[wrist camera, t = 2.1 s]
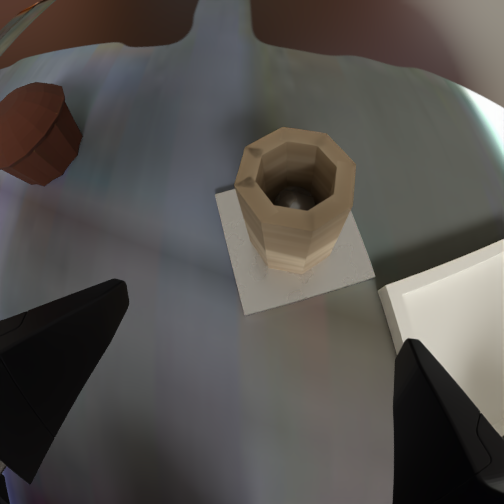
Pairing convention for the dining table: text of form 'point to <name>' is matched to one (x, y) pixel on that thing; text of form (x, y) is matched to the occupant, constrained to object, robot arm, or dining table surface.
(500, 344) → the plastic tray
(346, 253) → the white square pedestal
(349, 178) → the wooden pen holder
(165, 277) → the dining table surface
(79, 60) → the dining table surface
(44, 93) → the muffin
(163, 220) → the dining table surface
